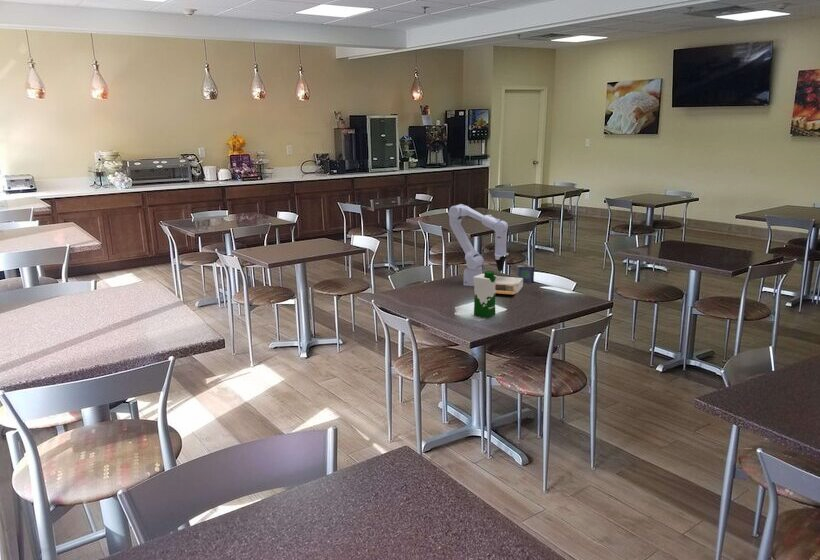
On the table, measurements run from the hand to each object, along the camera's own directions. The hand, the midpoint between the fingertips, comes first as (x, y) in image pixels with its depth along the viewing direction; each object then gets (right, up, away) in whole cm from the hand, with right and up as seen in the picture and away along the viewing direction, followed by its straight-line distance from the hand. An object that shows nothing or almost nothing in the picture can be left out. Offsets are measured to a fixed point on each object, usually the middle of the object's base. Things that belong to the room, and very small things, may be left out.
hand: (500, 270), depth 311 cm
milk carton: (-13, -21, -41) cm, 48 cm away
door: (-3, -11, -7) cm, 14 cm away
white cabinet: (0, -10, 0) cm, 10 cm away
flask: (+15, -6, +13) cm, 21 cm away
